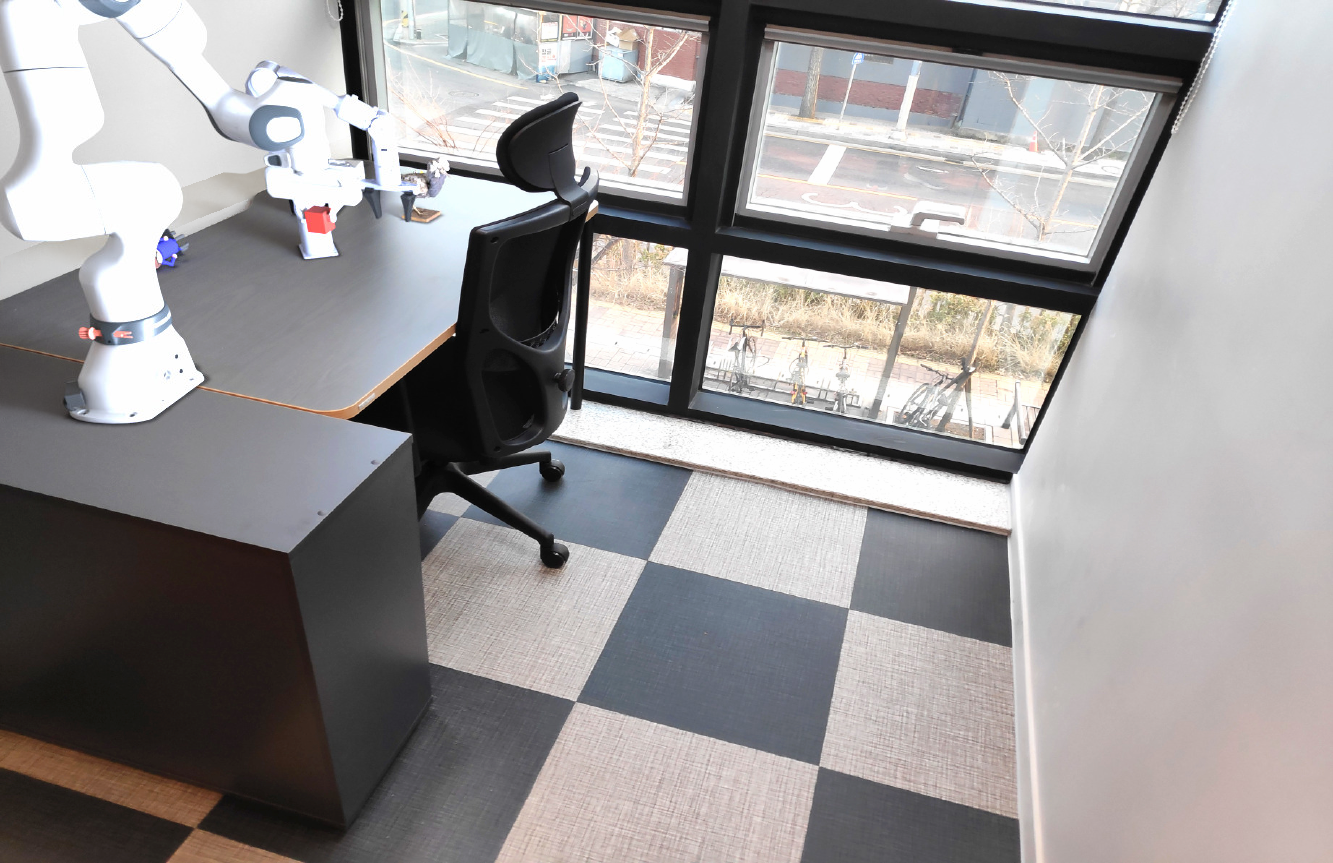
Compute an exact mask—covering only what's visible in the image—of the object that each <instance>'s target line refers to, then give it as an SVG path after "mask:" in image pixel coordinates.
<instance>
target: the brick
mask: <svg viewBox="0 0 1333 863" xmlns="http://www.w3.org/2000/svg"><path fill="white" fill-rule="evenodd" d="M330 211H331V208H329V207H325V206H316V205H313V206H312V207H310V208H309V209H308V210H306V211H305V212H304V213H305V218H306V224H307V229H308V233H317V234H327V233H329V232H330V231H331V232H332V231H333V230H334V229H336V225H335V222H327V218H326V214H327V213H329V212H330Z"/></svg>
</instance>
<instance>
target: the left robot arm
mask: <svg viewBox="0 0 1333 863" xmlns="http://www.w3.org/2000/svg"><path fill="white" fill-rule="evenodd" d="M108 19H114V20H115V21H116V22H117V23H118V25H120V26H121V28H122V29H124V30H125V31H126V32H127V34H129V36H131V37H132V38H133V40H135V41H136V42H137V44H139V46H141V47H143V48H144V49H145V51H147V52H148V53H149V54H150V55H151V56H152V57H154V58H155V59H157V61H159V62H160V63H161V64H163V65H164V66H165V67H166V68H167V69H168V70H169V71H170V72H171V74H173V75H174V76H175V77H176V79H177V80H178V81H179V82H180V83H181V84H182V86H184V87H185V88H186V89H187V90H188V92H190V94H191V95H192V96H193V97H194V98H195V99H196V100H197V101H198V103H199V104H200V105H201V106H202V108H203V109H204V111H205V113H206V115H207V117H208V120H209V122H210V123H211V126H212V127H213V129H214V130H215V131H216V132H217V134H218V135H220V136H221V137H222V138H223V139H226V140H228V141H231V142H237V143H240V144H244V145H246V146H248V147H251V148H256V149H258V150H261V151H263V152H264V151H265V152H268V151H271V152H270V153H269V152H268V153H266V154H265V155H263V164H264V165H266V167H265V168H264V174H263V175H264V182H265V187H266V188H265V189H266V192H267V193H268V194H269V196H270V197H271V198H277V199H285V200H289V199H294V203H295V205H296V206H297V208H298V209H299V210H300V211H301V213H302V218H303V219H306V218H305V213H304V212H305V211H306V210H308V209H307V207H306V206H305V204H304V203H303V202H305V201H313V202H322V203H328V205H329V208H331V211H330V212H329V213H327V214H326V218H327V222H334V223H335V222H336V221H337V214H336V211H337V209H338V207H339V204H341V205H344V206H349V207H350V206H351V207H352V206H353V207H354V206H356V205H358V204H359V203H360V202H361V201H362V199H363V192H362V189H361V188H360V185H359V181H358V173H357V169H356V167H355V166H354V165H352V164H350V162H348V161H338V160H331V159H332V157H331V150H330V145H329V140H328V138H327V135H326V132H325V124H326V119H325V114H324V109H323V105H322V103H321V99H320V95H319V93H318V90H317V88H316V86H315V85H314V84H313V83H312V82H313V81H312V80H311V81H312V82H311V81H309V80H310V79H309V80H306V79H303V78H297V77H292V76H280V77H277V78H276V79H275V82H274V84H273V85H272V86H271V87H270V88H269V89H268V90H267V91H266V92H265V93H263V94H262V95H260V96H258V97H254V96H251V95H248V94H246V92H244V91H241V90H238V89H236V88H233V87H232V86H230V85H229V84H228V83H226V82H225V81H224V79H223V78H222V77H221V76H220V75H219V74H218V73H217V71H216V70H214V68H213V67H212V66H211V65H210V64H209V63H208V62H207V60H206V59H205V58H204V57H203V56H202V52H203V51H204V50H205V47H206V44H207V29H206V27H205V24H204V23H203V21H202V20H201V19H200V17H199V15H198V14H197V13H196V11H195V10H194V9H193V7H192V6H191V5H190V4H189V3H188V2H187V1H186V0H0V70H1V73H2V75H3V77H4V80H5V83H6V86H7V88H8V92H9V95H10V97H11V100H12V103H13V104H12V105H13V108H14V111H15V115H16V118H17V122H18V128H19V146H18V150H17V153H16V157H15V159H14V161H13V163H12V165H11V167H10V168H9V170H8V171H7V172H6V173H5V174H4V175H3V176H2V177H1V178H0V225H2V227H3V228H4V229H5V230H6V231H7V232H8V233H10V234H12V235H13V236H15V238H18V239H20V240H21V241H24V242H62V241H68V240H69V241H71V240H75V239H76V240H77V239H82V238H89V237H96V236H101V235H104V236H105V235H106V236H107V235H108V238H107V241H106V242H105V244H104V245H103V246H102V247H101V248H100V249H99V250H97V251H95V252H94V253H93V254H91V255H90V256H88V257H87V258H86V259H85V260H84V261H83V263H82V264H81V266H80V268H79V271H78V281H79V284H80V287H81V289H82V292H83V294H84V297H85V300H86V303H87V306H88V308H89V311H90V312H89V327H86V326H81V327H80V328H79V329H78V337H79V338H81V340H89V339H90V340H91V344H90V347H89V350H88V352H87V354H86V357H85V359H84V363H83V365H82V367H81V370H80V372H79V375H78V378H77V380H75V381H68V382H65V389H64V396H63V399H62V405H63V406H64V408H65V409H67V410H68V411H69V415H70V416H71V417H72V418H73V419H75V420H79V421H82V422H88V423H94V424H95V423H97V424H130V423H138V422H144V421H149V420H151V419H153V418H154V417H156V416H157V415H158V414H161V412H163V411H164V410H165V409H166V408H169V406H171V405H172V404H174V403H175V402H176V401H178V400H179V399H181V398H182V397H184V396H185V395H186V394H187V393H188V392H190V391H191V390H193V389H194V388H196V387H197V386H198V385H199V384H201V383H203V381H204V380H205V377H204V376H203V374H202V372H200V371H199V370H197V369H196V367H195V364H194V362H193V360H192V356H191V355H190V352H189V350H188V347H187V345H186V342H185V340H184V339H183V338H182V337H181V335H180V334H179V333H178V332H177V331H176V329H175V328H174V327H173V325H172V324H173V318H172V313H171V310H170V308H169V306H168V303H167V301H165V300H164V299H163V295H162V292H161V289H160V284H159V280H158V275H157V270H156V269H157V268H156V269H155V252H156V248H157V244H158V242H159V239H160V237H161V235H162V233H163V232H164V230H165V229H167V228H168V227H169V225H170V224H171V223H173V222H174V220H176V218H177V217H178V216H179V214H180V212H181V210H182V207H183V206H182V205H183V192H182V189H181V186H180V184H179V182H178V180H177V178H176V177H175V176H174V174H173V173H172V172H171V171H170V170H169V169H168V168H166V167H165V166H164V165H163V164H161V163H159V162H156V161H147V160H146V161H145V160H129V159H128V160H127V159H124V160H117V161H107V162H98V163H88V164H81V165H80V164H76V163H74V162H73V158H72V154H73V151H74V150H75V148H76V147H78V146H79V145H81V144H83V143H84V142H86V141H87V140H89V139H90V138H92V137H93V136H94V135H95V134H96V133H98V132H99V131H100V130H101V129H102V127H103V125H104V121H105V113H104V110H103V108H102V105H101V101H100V99H99V95H98V92H97V90H96V87H95V83H94V81H93V78H92V74H91V72H90V69H89V66H88V63H87V60H86V58H85V55H84V53H83V50H82V48H81V44H80V43H79V41H78V40H79V39H78V30H79V29H78V28H79V25H83V26H84V25H89V24H93V23H99V22H103V21H105V20H108ZM350 166H352V167H350Z"/></svg>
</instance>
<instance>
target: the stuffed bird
mask: <svg viewBox="0 0 1333 863" xmlns="http://www.w3.org/2000/svg"><path fill="white" fill-rule="evenodd" d="M449 166H450V163H449V162H448V160H447V159H446V157H444V156H438V157H437V158H436V159H431V160H430V161H429V162H428V163H427V166H426V167H427V168H426V172H423V173H420V172H418V173H413V172H410V173H409V172H408V173H406V174H403V173H400V177H401V181H404V182H408V183H412V184H419V188H420V192H419V193H418V194H417V196H416V199H429V198H432V199H433V198H436V197H437V196H438V194H439V193H440V192H441V190H442V188H443V185H444V184H445V179H447V177H449V178H450V179H452V180H454V179H453V177H452V176H451V175H450V174H449V173H447V171H449V170H450V167H449ZM441 215H442V213H441V211H440V210H436V209H435V210H434V209H430V208H424V207H417V206H415V205H413V209H412V215H411V220H410V221H414V222H420V223H429V222H430V221H432V220H434V219H435V218H437V217H438V216H441ZM401 219H403V220H405V216H404V213H403V214H402V215H401Z"/></svg>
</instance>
